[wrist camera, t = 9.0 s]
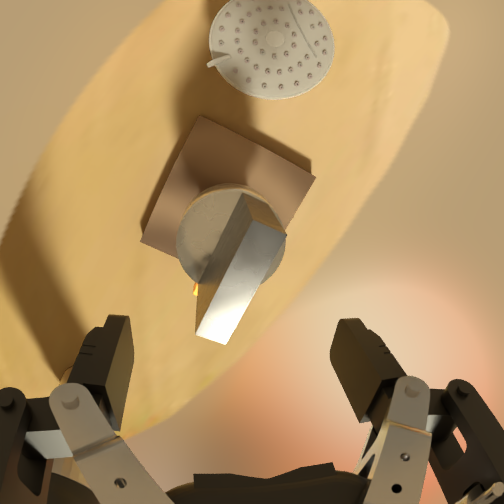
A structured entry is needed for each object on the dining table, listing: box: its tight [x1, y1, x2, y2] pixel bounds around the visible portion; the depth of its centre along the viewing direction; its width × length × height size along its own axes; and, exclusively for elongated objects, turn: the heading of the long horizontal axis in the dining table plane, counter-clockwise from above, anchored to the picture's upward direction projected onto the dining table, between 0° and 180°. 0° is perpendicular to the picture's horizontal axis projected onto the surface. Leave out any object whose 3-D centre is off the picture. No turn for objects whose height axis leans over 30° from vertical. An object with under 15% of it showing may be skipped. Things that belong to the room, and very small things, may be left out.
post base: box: [140, 115, 316, 259], centre depth 27 cm, size 13×12×8 cm
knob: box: [176, 183, 287, 344], centre depth 20 cm, size 7×8×8 cm
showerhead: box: [207, 0, 334, 100], centre depth 22 cm, size 9×7×10 cm
